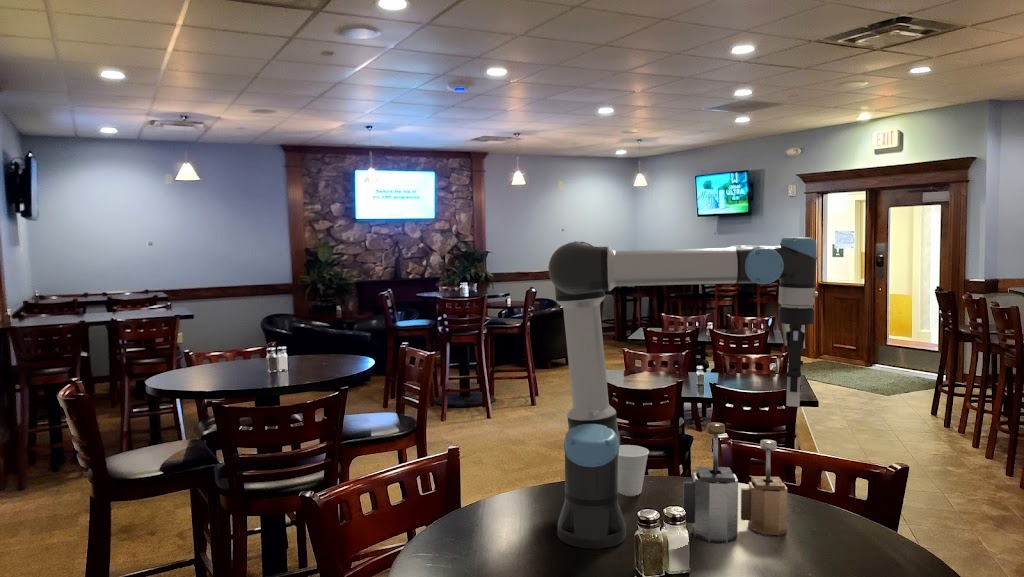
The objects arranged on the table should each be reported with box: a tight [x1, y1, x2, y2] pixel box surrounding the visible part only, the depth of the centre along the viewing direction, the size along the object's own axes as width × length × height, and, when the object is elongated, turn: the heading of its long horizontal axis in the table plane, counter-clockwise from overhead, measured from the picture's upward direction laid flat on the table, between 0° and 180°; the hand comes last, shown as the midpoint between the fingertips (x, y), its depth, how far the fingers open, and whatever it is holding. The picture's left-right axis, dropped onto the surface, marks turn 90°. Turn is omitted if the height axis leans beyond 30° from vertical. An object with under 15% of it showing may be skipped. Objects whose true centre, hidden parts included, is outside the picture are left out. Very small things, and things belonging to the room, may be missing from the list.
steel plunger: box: [706, 422, 726, 483], centre depth 159 cm, size 7×7×13 cm
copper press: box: [740, 475, 788, 538], centre depth 162 cm, size 10×8×11 cm
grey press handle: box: [754, 439, 779, 491], centre depth 162 cm, size 6×6×11 cm
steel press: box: [682, 466, 739, 544], centre depth 160 cm, size 12×10×14 cm
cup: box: [618, 444, 650, 497], centre depth 186 cm, size 10×10×11 cm
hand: (792, 399), depth 164 cm, fingers open, 13 cm apart
